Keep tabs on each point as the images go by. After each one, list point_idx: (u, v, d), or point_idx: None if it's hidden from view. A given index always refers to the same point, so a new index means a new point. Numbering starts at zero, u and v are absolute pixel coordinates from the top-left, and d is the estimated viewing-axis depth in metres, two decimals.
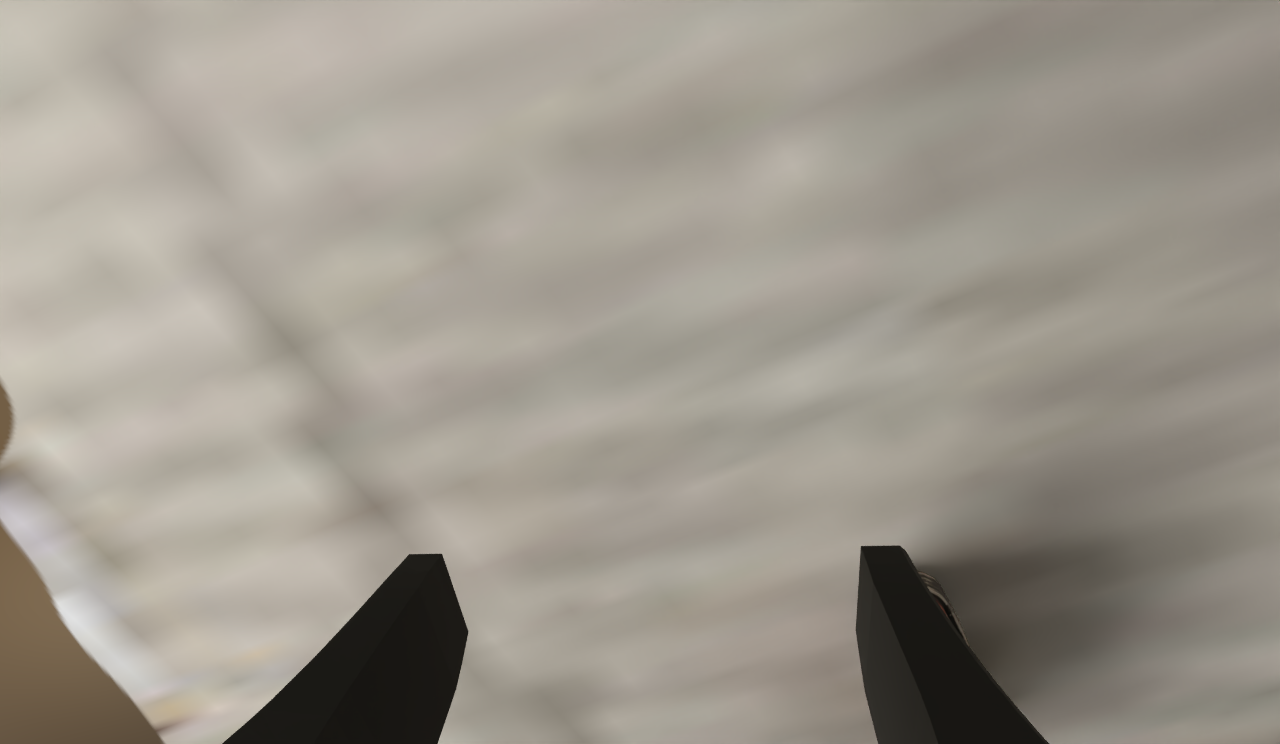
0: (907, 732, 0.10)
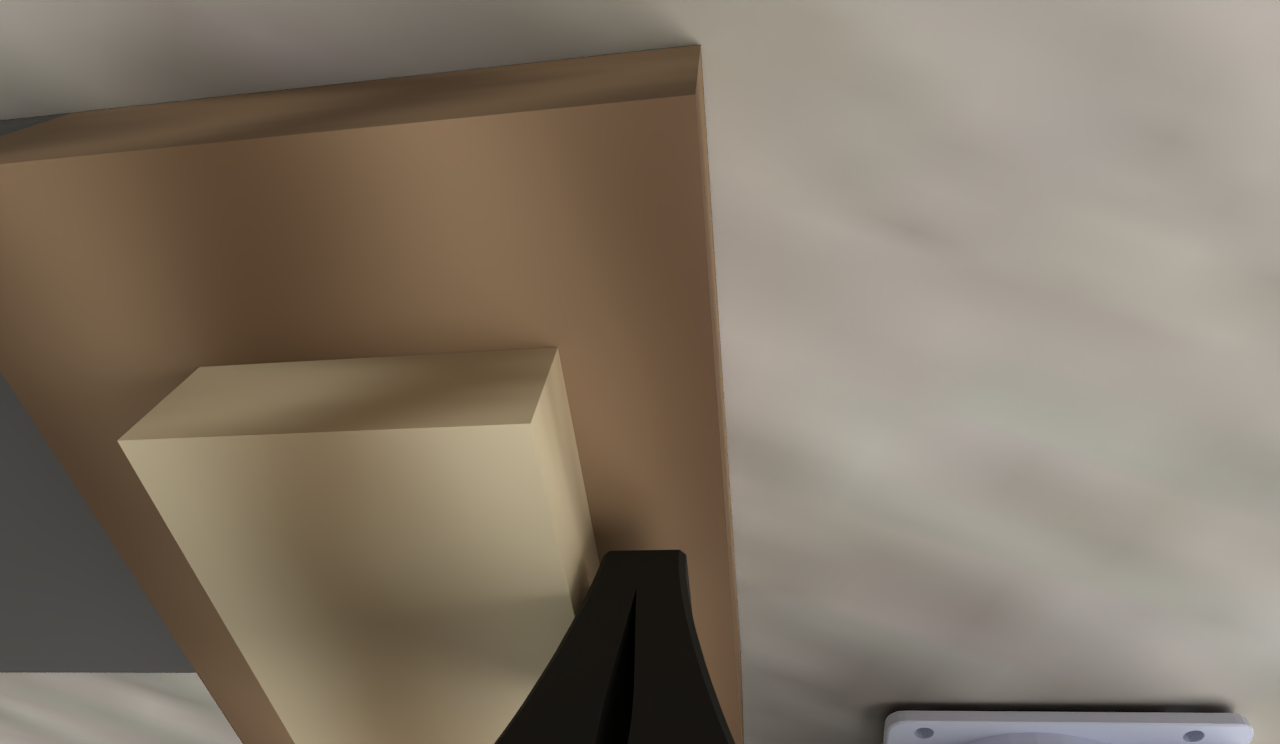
0: None
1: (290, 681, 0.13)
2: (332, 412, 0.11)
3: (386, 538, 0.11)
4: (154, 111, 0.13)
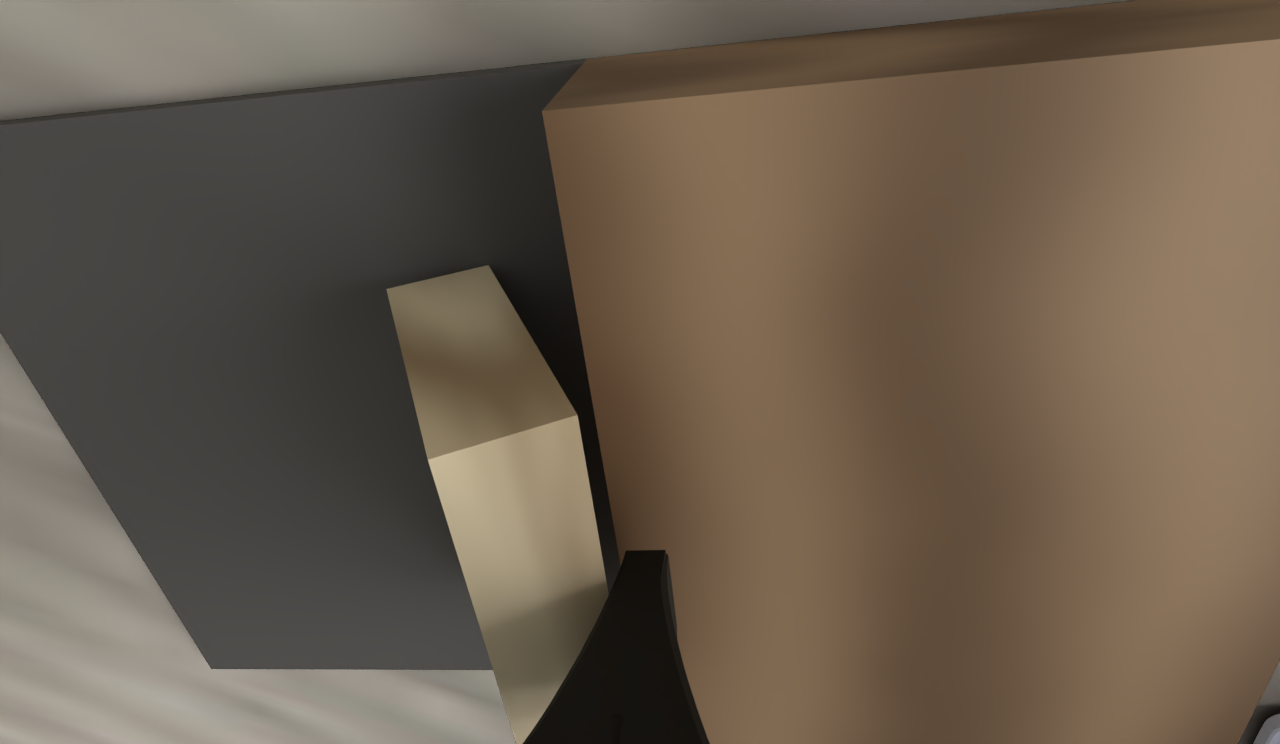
0: None
1: None
2: (432, 349, 0.12)
3: None
4: (720, 53, 0.12)
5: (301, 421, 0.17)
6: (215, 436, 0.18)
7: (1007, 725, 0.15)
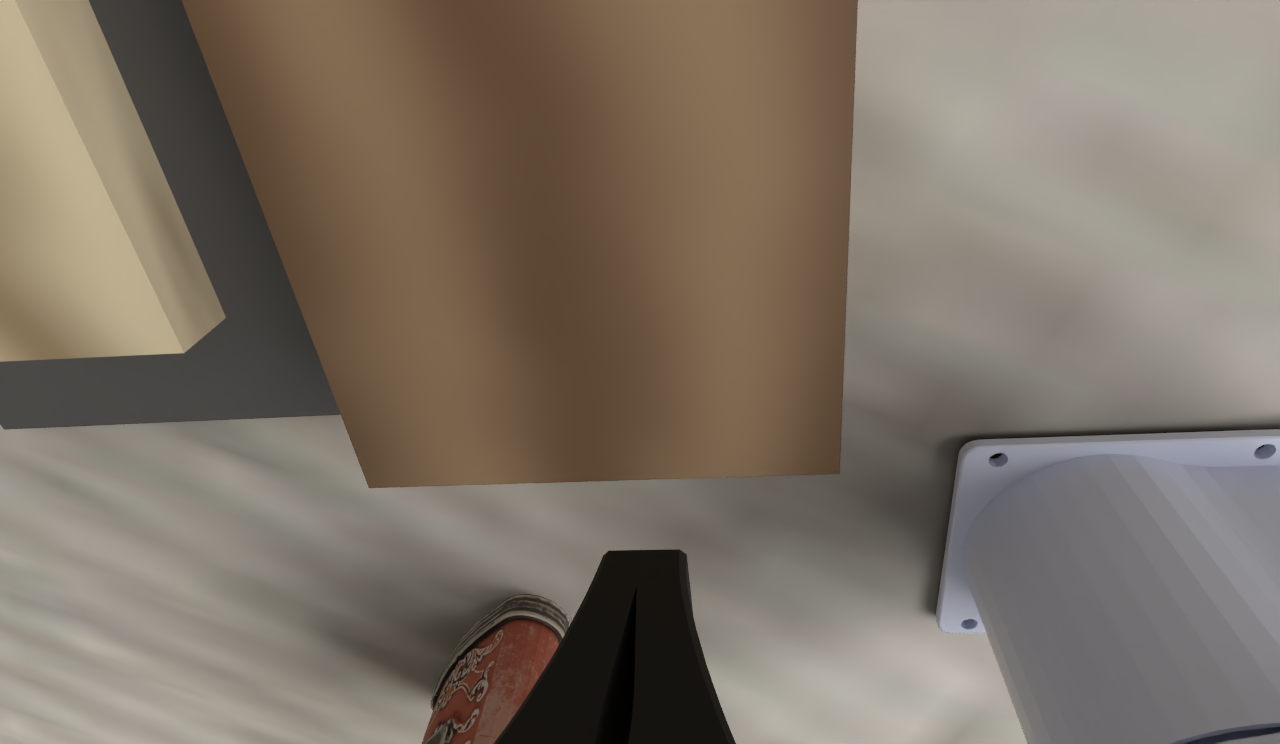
0: None
1: None
2: None
3: None
4: None
5: None
6: None
7: (641, 378, 0.17)
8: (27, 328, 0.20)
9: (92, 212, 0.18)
